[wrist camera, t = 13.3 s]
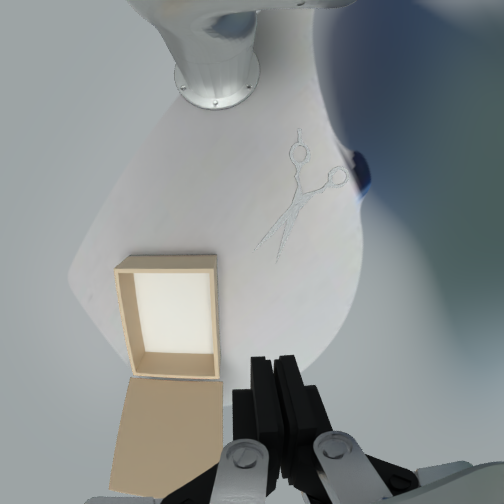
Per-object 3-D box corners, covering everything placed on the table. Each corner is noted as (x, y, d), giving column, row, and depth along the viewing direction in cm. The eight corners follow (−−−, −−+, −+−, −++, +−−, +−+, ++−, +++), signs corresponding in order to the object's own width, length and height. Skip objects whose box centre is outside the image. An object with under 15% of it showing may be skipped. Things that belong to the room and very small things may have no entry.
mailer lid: (108, 489, 26) (110, 490, 26) (223, 502, 26) (223, 503, 27) (130, 377, 42) (131, 379, 43) (222, 381, 43) (222, 383, 44)
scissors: (356, 164, 43) (293, 275, 47) (354, 164, 44) (292, 273, 48) (298, 127, 41) (233, 243, 45) (297, 128, 42) (233, 242, 46)
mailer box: (129, 255, 45) (113, 268, 38) (216, 254, 46) (213, 268, 39) (143, 352, 49) (133, 375, 43) (220, 354, 50) (219, 379, 43)
